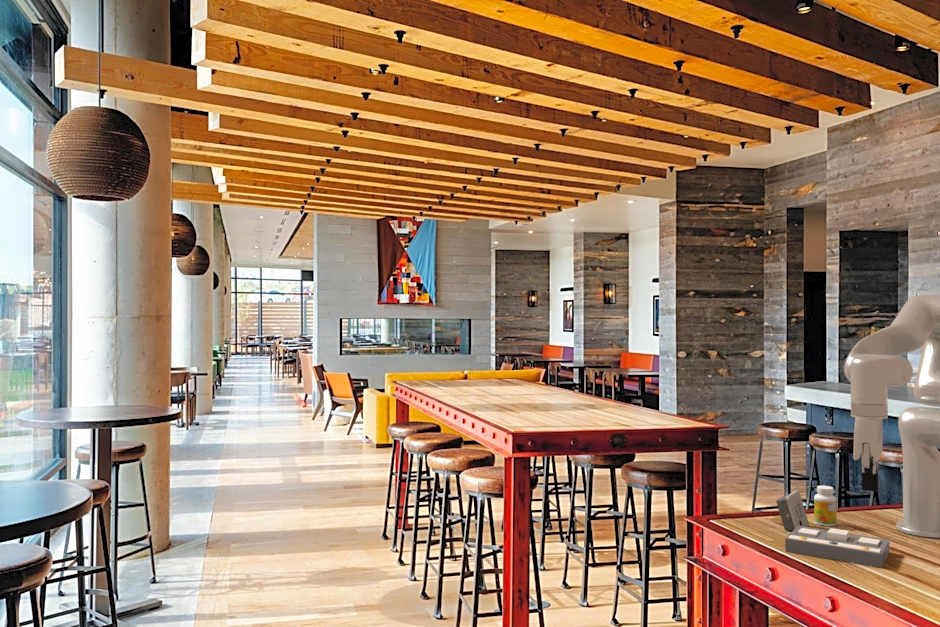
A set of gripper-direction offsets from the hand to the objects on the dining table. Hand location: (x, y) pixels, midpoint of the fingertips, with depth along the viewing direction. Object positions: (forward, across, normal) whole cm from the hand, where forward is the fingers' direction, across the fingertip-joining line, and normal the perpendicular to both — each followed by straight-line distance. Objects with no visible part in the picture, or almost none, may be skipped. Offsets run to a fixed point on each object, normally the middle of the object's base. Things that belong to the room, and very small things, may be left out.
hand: (870, 489), depth 174 cm
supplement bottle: (+16, -22, -14) cm, 30 cm away
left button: (+14, +1, -13) cm, 19 cm away
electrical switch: (+15, -13, -20) cm, 28 cm away
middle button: (+13, +1, -7) cm, 15 cm away
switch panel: (+15, +2, -7) cm, 17 cm away
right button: (+14, +1, 0) cm, 14 cm away
